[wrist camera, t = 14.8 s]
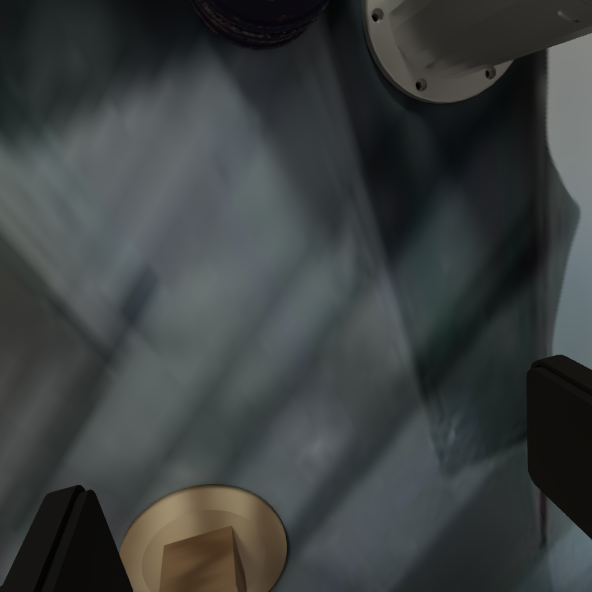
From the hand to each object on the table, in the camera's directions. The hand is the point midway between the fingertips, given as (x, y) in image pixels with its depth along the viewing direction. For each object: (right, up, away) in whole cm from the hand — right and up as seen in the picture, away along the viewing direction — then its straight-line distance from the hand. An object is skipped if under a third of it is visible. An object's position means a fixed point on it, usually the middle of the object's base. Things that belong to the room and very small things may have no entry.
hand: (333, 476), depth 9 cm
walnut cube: (-9, -20, +31) cm, 38 cm away
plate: (-9, -20, +32) cm, 39 cm away
